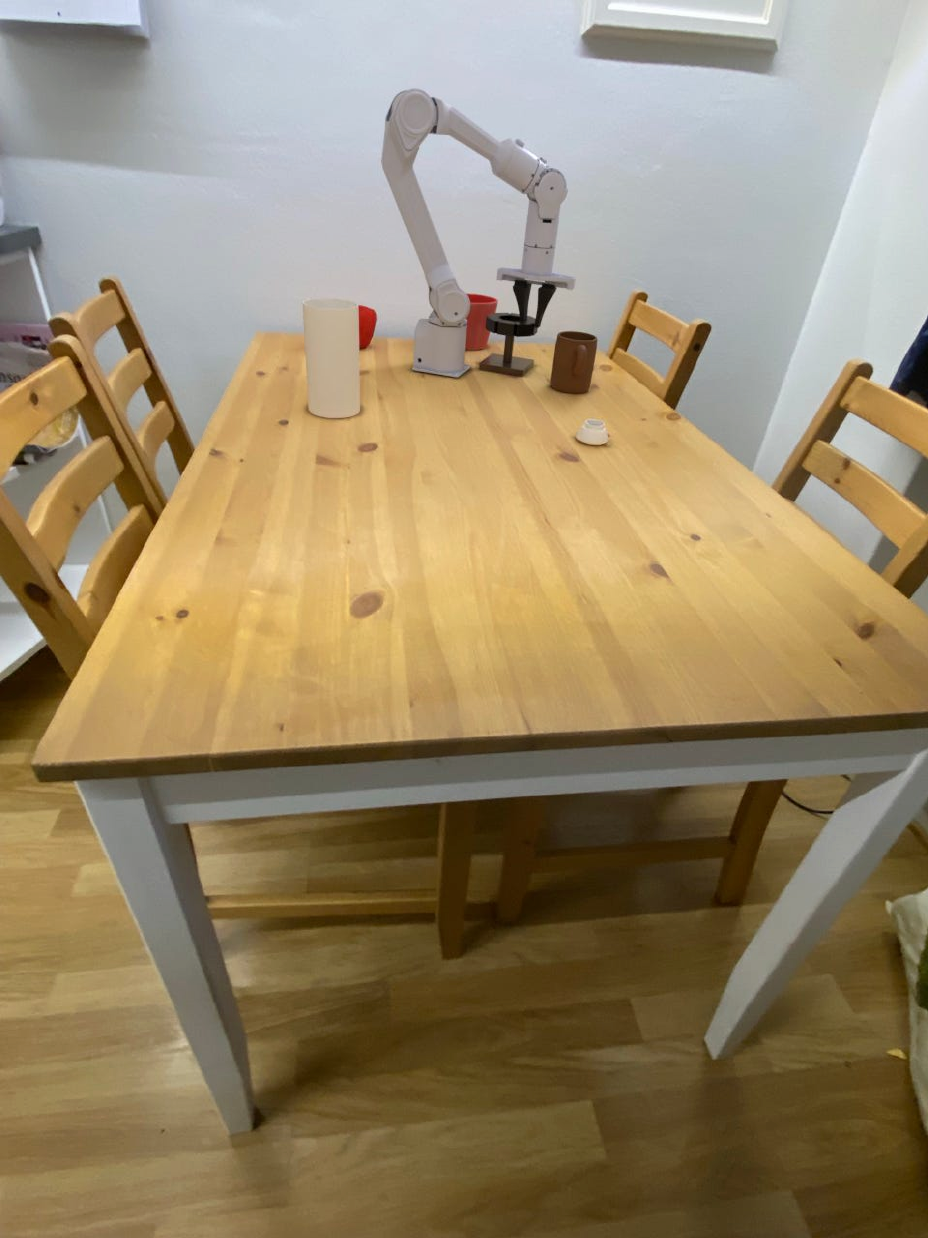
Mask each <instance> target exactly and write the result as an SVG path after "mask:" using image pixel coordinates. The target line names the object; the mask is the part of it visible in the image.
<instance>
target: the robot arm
mask: <svg viewBox="0 0 928 1238" xmlns="http://www.w3.org/2000/svg"><path fill="white" fill-rule="evenodd" d="M429 135H437V136H438V135H440V136H449V137H451V138H453V139H454V140H455V141H457V142H459V143H460V144H462V145H464V146H465V147H466V148H468V149H470V150H471V151H473V152H475V153H476V154H478V155H480V156H481V157H482V158H484V159H486V160H487V161H489V164H490V167H491V172H492V174H493V175H494V176H495V177H497V178H498V179H500V180H501V181H503V182H504V183H506V184H507V185H509V186H510V187H512V188H513V189H515V190H516V191H518V192H520V193H521V194H523V195H526V197H527V199H528V207H527V215H526V221H525V222H526V223H525V231H524V232H525V233H524V241H523V251H522V259H521V267H520V268H511V267H510V268H509V267H498V268H497V270H496V281H507V282H514V284H513V285H512V291H513V294H514V296H515V299H516V303H517V307H518V314H520V322H524V321H526V320H527V316H528V311H529V300H530V295H531V290H532V286H533V285H537V286H539V288H538V289H537V305H536V306H537V307H536V313H535V328H538V329H539V328H540V327H541V325H542V322H543V319H544V315H545V312H546V310H547V308H548V305H549V304H550V301H551V299H552V298H553V296H554V294H556V293H555V292H556V291H557V288H560V289H566V290H568V291H573V290H574V289H575V287H576V281H577V277H576V276H571V275H564V274H560V273H555V272H553V270H554V269H553V268H554V261H555V252H556V247H557V246H556V245H557V237H558V231H559V223H560V212H561V205H562V204H563V203H564V201H565V200H566V198H567V196H568V193H569V188H568V187H567V180H566V178H565V175H564V174H563V173H562V172H561V171H560V170H559V169H557V168H553V167H550V166H549V165H547V163H548V159H546V158H545V157H543V156H540V157H538V156H537V155H536V154H535V153H532V152H531V151H529V150H528V149H527V148H525V147H524V146H525V141H522V140H521V139H520V138H516V139H515V140H514V139H512V138H505V139H503V140H501V141H499V139H497V138H496V137H494V136H493V135H492V134H490V133H489V132H488V131H486V130H484V128H482V127H481V126H479V125H478V124H477V123H475V122H474V121H473V120H471V119H470V118H469V117H468V116H466V115H465V114H464V113H462V112H461V111H460V110H458V109H456V107H454V106H453V105H450V104H449V103H447V102H445V101H444V100H442V99H440V98H437V97H435V96H431V95H430V94H428V93H427V92H426V91H425V90H423V89H420V88H416V87H415V88H408V89H406V90H402V91H399V92H398V93H397V94H396V95H395V96H394V97H393V99H392V101H391V103H390V105H389V108H388V110H387V112H386V114H385V118H384V133H383V140H382V141H383V142H382V150H381V159H380V163H381V168H382V172H383V173H384V176H385V178H386V180H387V183H388V186H389V189H390V191H391V194H392V195H393V198H394V201H395V203H396V206H397V208H398V211H399V213H400V216H401V219H402V221H403V223H404V226H405V229H406V232H407V233H408V236H409V238H410V241H411V243H412V246H413V248H414V251H415V253H416V256H417V258H418V261H419V263H420V266H421V268H422V271H423V274H424V278H425V281H426V284H427V287H428V302H429V305H430V307H431V309H433V310H432V311H431V313H430V314H429V316H428V318H419V319H418V321H417V323H416V325H415V329H414V335H413V337H414V338H413V366H412V367H411V370H412V371H416V372H419V373H420V372H421V373H425V374H426V373H428V374H433V375H439V376H443V377H444V376H445V377H449V378H456V379H457V378H460V377H461V376H463V374H465V373H466V372H467V371H468V370H470V369H471V365H469V364H465V358H466V357H465V356H466V355H465V354H466V349H465V343H466V328H467V320H466V319H465V318H466V317H467V316H468V314H469V311H470V300H469V297H468V296H467V294H468V293H467V292H466V291H464V290H463V289H462V288H461V287H460V285H459V284H458V283H459V282H458V280H457V279H456V276H455V274H454V272H453V270H452V268H451V266H450V263H449V261H448V259H447V255H446V253H445V251H444V247H443V245H442V242H441V240H440V237H439V235H438V232H437V229H436V227H435V223H434V221H433V218H432V216H431V213H430V211H429V207H428V205H427V203H426V200H425V197H424V194H423V192H422V189H421V186H420V184H419V181H418V179H417V176H416V173H415V171H414V168H413V167H414V163H415V160H416V158H417V155H418V152H419V149H420V146H421V145H422V144H423V142H424V141H426V139H427V137H428V136H429ZM466 293H467V294H466Z"/></svg>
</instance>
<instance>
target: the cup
mask: <svg viewBox="0 0 928 1238" xmlns="http://www.w3.org/2000/svg"><path fill="white" fill-rule="evenodd" d="M358 305H359V303H358V302H357V301H354V300H351V299H345V298H337V297H312V298H307V299H304V300H303V301H302V320H303V336H304V352H305V353H304V354H305V370H306V371H305V372H306V387H307V405H308V406H307V407H308V411H309V413H311V414H312V415H314V416H317V417H321V418H326V419H327V418H328V419H344V418H350V417H354V416H356V415H358V414H359V413H360V412H361V382H360V381H361V379H360V378H361V377H360V373H361V372H360V348H359V307H358Z"/></svg>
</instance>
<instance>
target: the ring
mask: <svg viewBox="0 0 928 1238" xmlns="http://www.w3.org/2000/svg"><path fill="white" fill-rule="evenodd" d="M535 319H536V317H533V316H530V315H527V320H526V321H524V322H520V314H519V313H515V312H510V313H509V312H495V313H494V314H490V315H488V316H487V318H486V330H488V331H490V333H492V334H496V335H499V336H504V337H505V336H511V337H513V336H515V337H516V338H523V337H534V336H535V335H536V334H538V330H539V328H535Z"/></svg>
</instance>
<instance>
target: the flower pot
mask: <svg viewBox="0 0 928 1238" xmlns="http://www.w3.org/2000/svg"><path fill="white" fill-rule="evenodd" d="M465 293H466V294H467V296H468V297H469V300H470V311H469V314H468V316H467V317H466V318H465V319H466V320H467V328H466V343H465V350H470V351H477V350H478V351H479V350H484V349H486V348H487V346H488V343H489V342H488V341H489V339H490V335H491V332H490V331H488V330H486V318H487V316H488V315H490V314H494V313H497V312H496V311H497V307H498V303H499V300H498V299H497V298H495V297H493V296H490V295H485V294H477V293H467V292H465Z"/></svg>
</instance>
